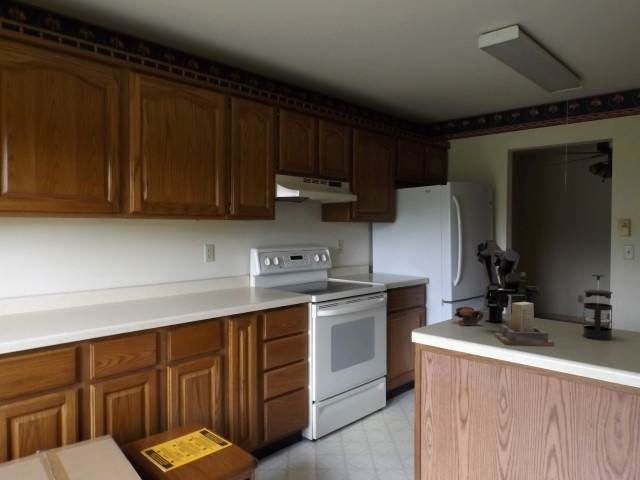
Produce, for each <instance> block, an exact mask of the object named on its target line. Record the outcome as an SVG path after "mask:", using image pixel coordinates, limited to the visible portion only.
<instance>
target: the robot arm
mask: <svg viewBox="0 0 640 480" xmlns="http://www.w3.org/2000/svg"><path fill="white" fill-rule="evenodd" d="M505 249H506V250H503V249H502V248H501V246H499V245H498V242H497V240H494V239H485V240H483V242H482V243H480V244H477V246H476V248H475V249H474V255H475V257H476V259H477V261H478V262H479V263H480V264H482V266H483V270H484V274H485V278H486V283H487V286H486V288H485V291H484V299H483V306H484V307H485V308H488V315H487V316H488V318H486V319H485V322H488V323H489V322H490V323H497V324H502V323H504V322H506V319H503V317H504V311H505V309H508V307H509V300H510V296H522V297H523V299H524V300H523V302H529V303H532V302H533V301H535V300H536V298H537V296H538V294H539V292H540V290H539V287H538V286H536V285H532V286H531V285H526V286H525V288H524V289H519V288H520V287H521V283H522V282H526V281H527V275H526V272H523V271H522V272H514V270H516V268H517V266H518V263H519V259H520V253H518V252H517V251H515V250H513V248H505ZM496 267H497V269H496Z"/></svg>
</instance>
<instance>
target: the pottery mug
mask: <svg viewBox="0 0 640 480" xmlns="http://www.w3.org/2000/svg"><path fill="white" fill-rule="evenodd" d="M453 317H458V318H459V320H458V324H459V327H461V326H470V327H474V326H475V325H477V324H478V323H479V322H481V321H482V320H483V318H484V314H483V312H482V311H481V310H475V309H474V307H471V306H461V307H457V308H456V311H455V313H454V316H453Z"/></svg>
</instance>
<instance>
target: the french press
mask: <svg viewBox="0 0 640 480" xmlns="http://www.w3.org/2000/svg"><path fill="white" fill-rule="evenodd" d="M591 277H596V280H597V289H584V290H583V292H584V295H585V298H590V297H594V296H595V297H597V298H596V299H597V300H596V301H597V302H585V303H583V309H587V310H593V311H594V312H593V313H594V316H593V317H585V313H583V314H582V315H583V320H582V321H583V324H582V337H583V338H586V339H589V340H596V341H611V340H613V305H612V304H608V303H603V302H599V297H604V298H606V299H608V300H610V299H612V294H613V291H609V290H605V289H599V287H600V281H601V277H605V275H604V274H592V275H591ZM602 311H610V312H611V313H610V319H607V318H602ZM585 322H587V323H592V324H593V325H585ZM606 324H607V325H609V324H610V327H606V326H601V325H606Z"/></svg>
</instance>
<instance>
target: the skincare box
mask: <svg viewBox="0 0 640 480" xmlns="http://www.w3.org/2000/svg"><path fill="white" fill-rule="evenodd" d="M534 305H535V304H534V303H533V302H531V303H529V302H524V301H520V302H519V301H518V302H512V303H511V330H513V331H514V332H534V326H535V325H534V324H535V323H534V321H535V320H534V319H535V318H534V316H535V315H534V313H535V312H534V311H535V310H534Z"/></svg>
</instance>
